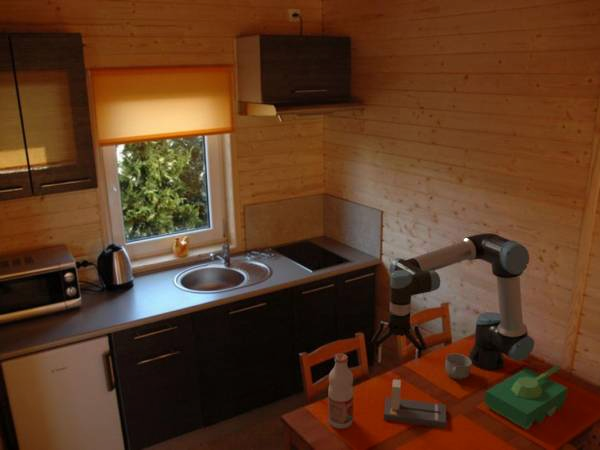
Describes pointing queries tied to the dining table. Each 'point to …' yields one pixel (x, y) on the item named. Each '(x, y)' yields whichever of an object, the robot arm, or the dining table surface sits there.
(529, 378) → the toy tank
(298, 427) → the dining table surface
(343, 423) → the fruit juice
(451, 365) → the teacup
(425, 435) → the dining table surface
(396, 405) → the block
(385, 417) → the panel
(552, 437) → the dining table surface
